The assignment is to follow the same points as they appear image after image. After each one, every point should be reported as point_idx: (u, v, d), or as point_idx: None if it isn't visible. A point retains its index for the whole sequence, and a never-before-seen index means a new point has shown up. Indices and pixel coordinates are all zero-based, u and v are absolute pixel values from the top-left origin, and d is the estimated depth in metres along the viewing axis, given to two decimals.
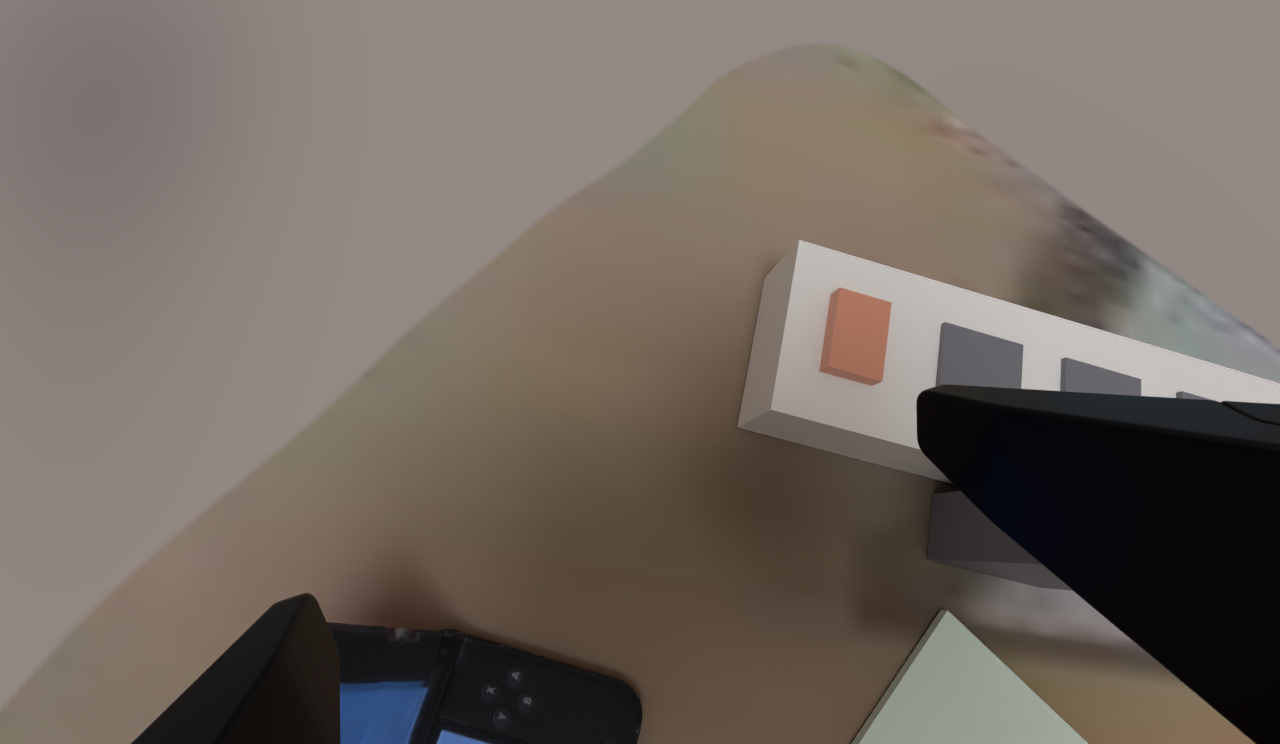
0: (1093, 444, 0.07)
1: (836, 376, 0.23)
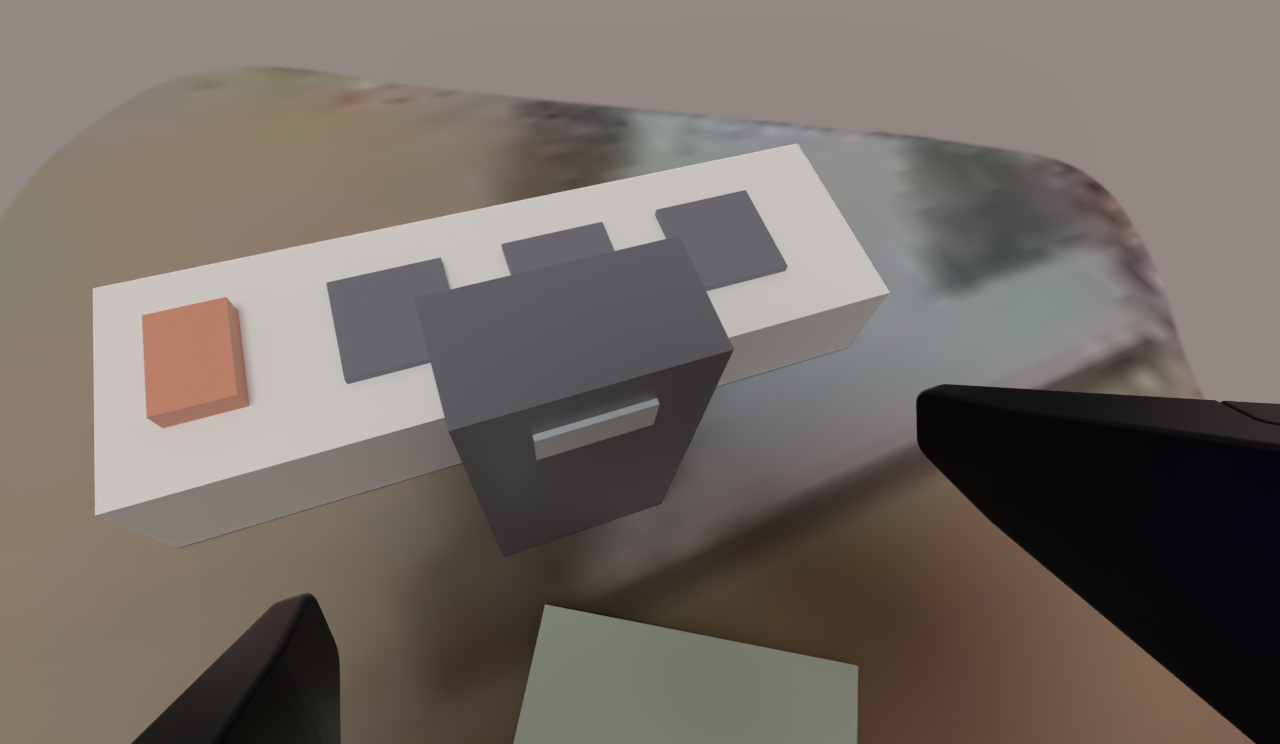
0: (1093, 444, 0.07)
1: (191, 421, 0.16)
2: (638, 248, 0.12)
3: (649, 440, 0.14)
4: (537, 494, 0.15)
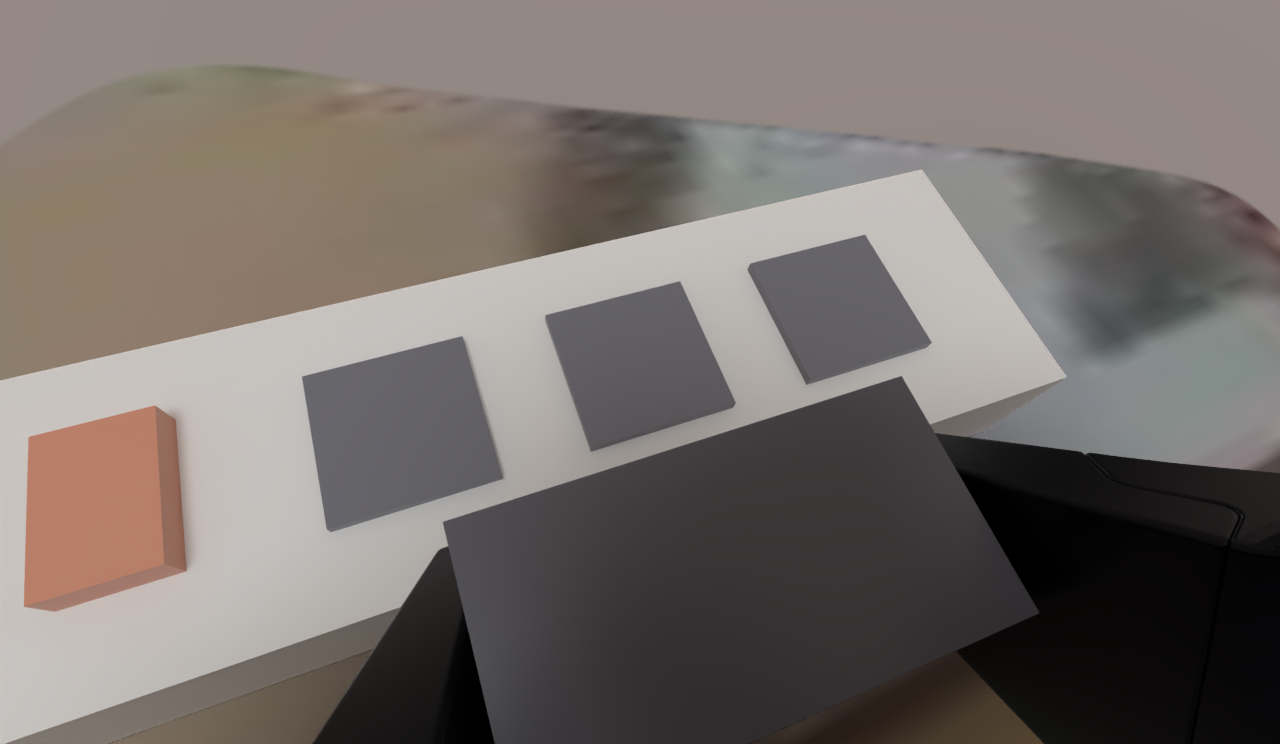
0: None
1: (99, 598, 0.11)
2: (836, 403, 0.07)
3: None
4: None
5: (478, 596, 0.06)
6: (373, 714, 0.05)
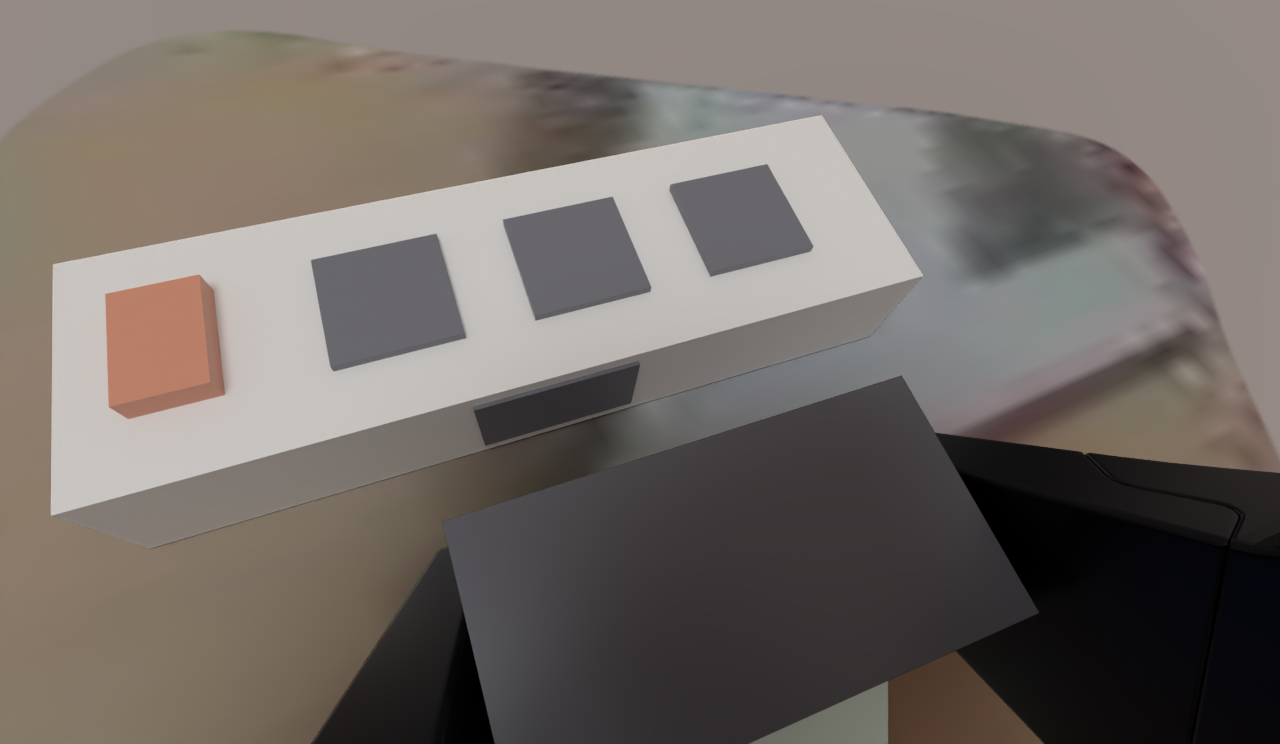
0: None
1: (160, 411, 0.15)
2: (836, 403, 0.07)
3: None
4: None
5: (478, 596, 0.06)
6: (372, 715, 0.05)
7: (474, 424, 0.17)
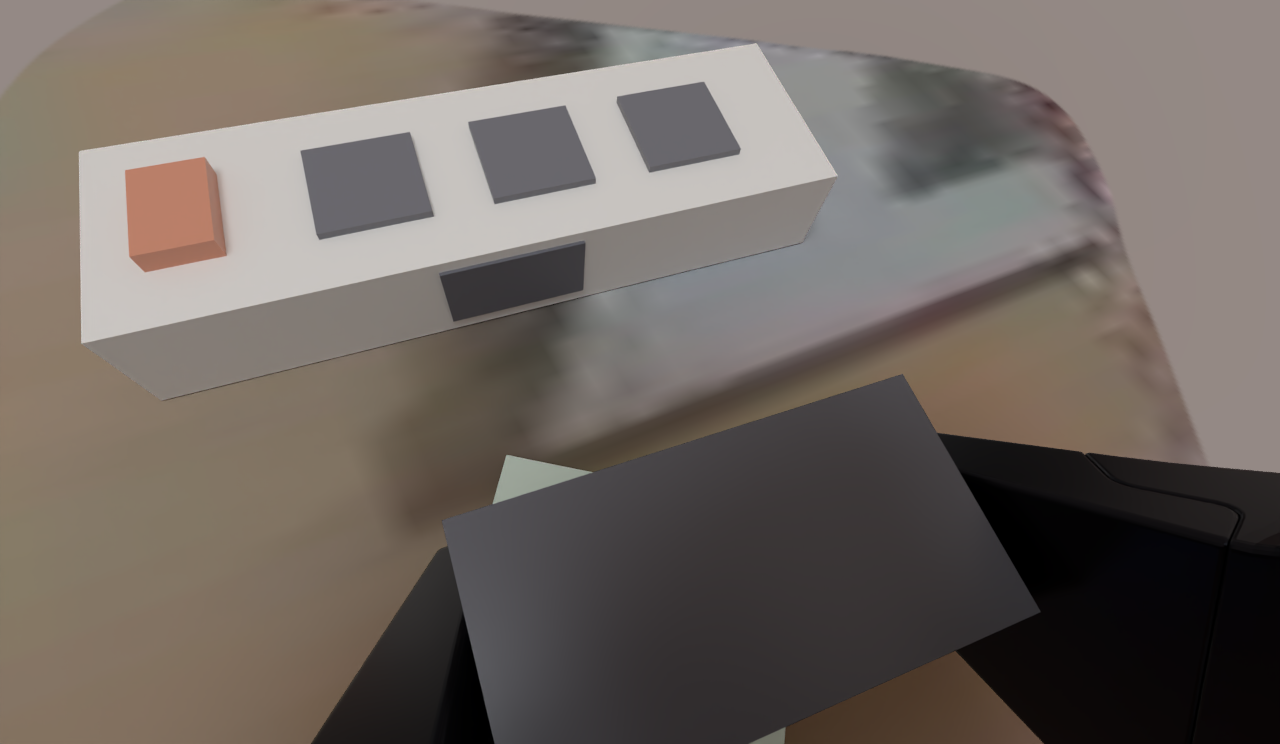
0: None
1: (172, 267, 0.17)
2: (837, 402, 0.07)
3: None
4: None
5: (477, 595, 0.06)
6: (372, 714, 0.05)
7: (442, 295, 0.20)
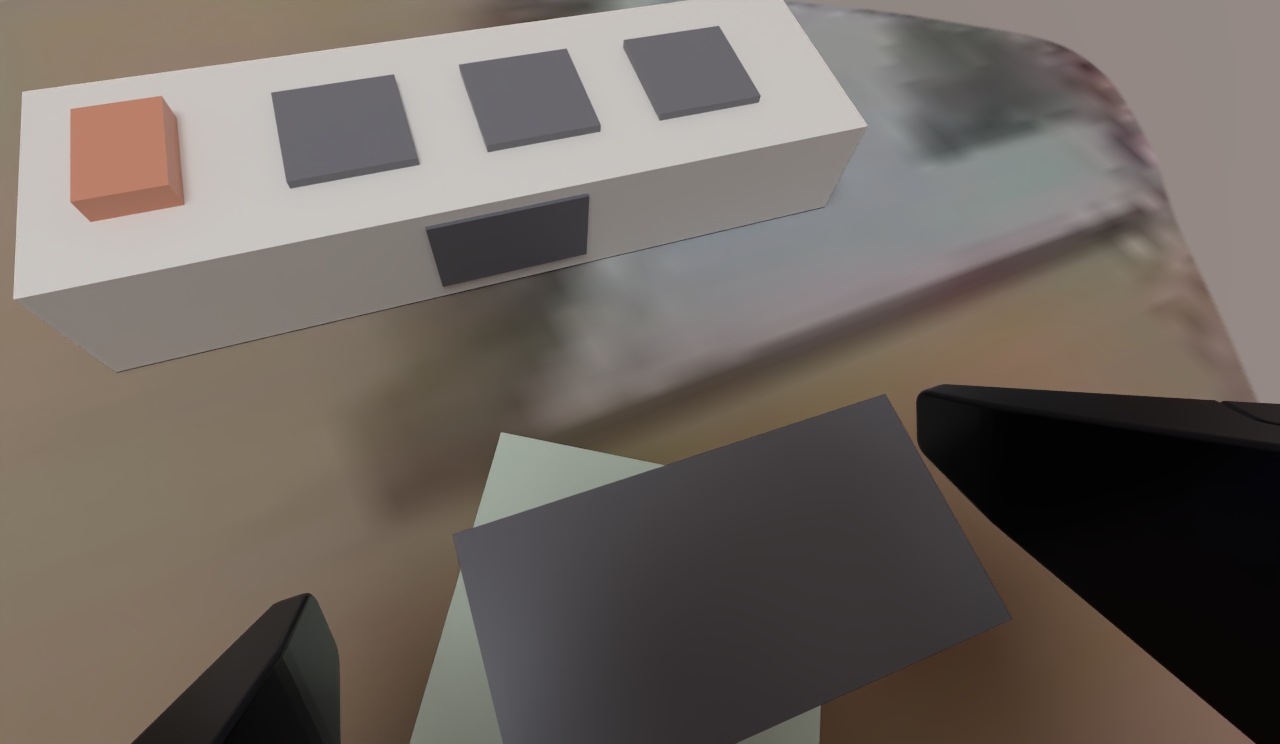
0: (1093, 444, 0.07)
1: (122, 217, 0.15)
2: (823, 420, 0.07)
3: None
4: None
5: (486, 604, 0.06)
6: None
7: (429, 254, 0.18)
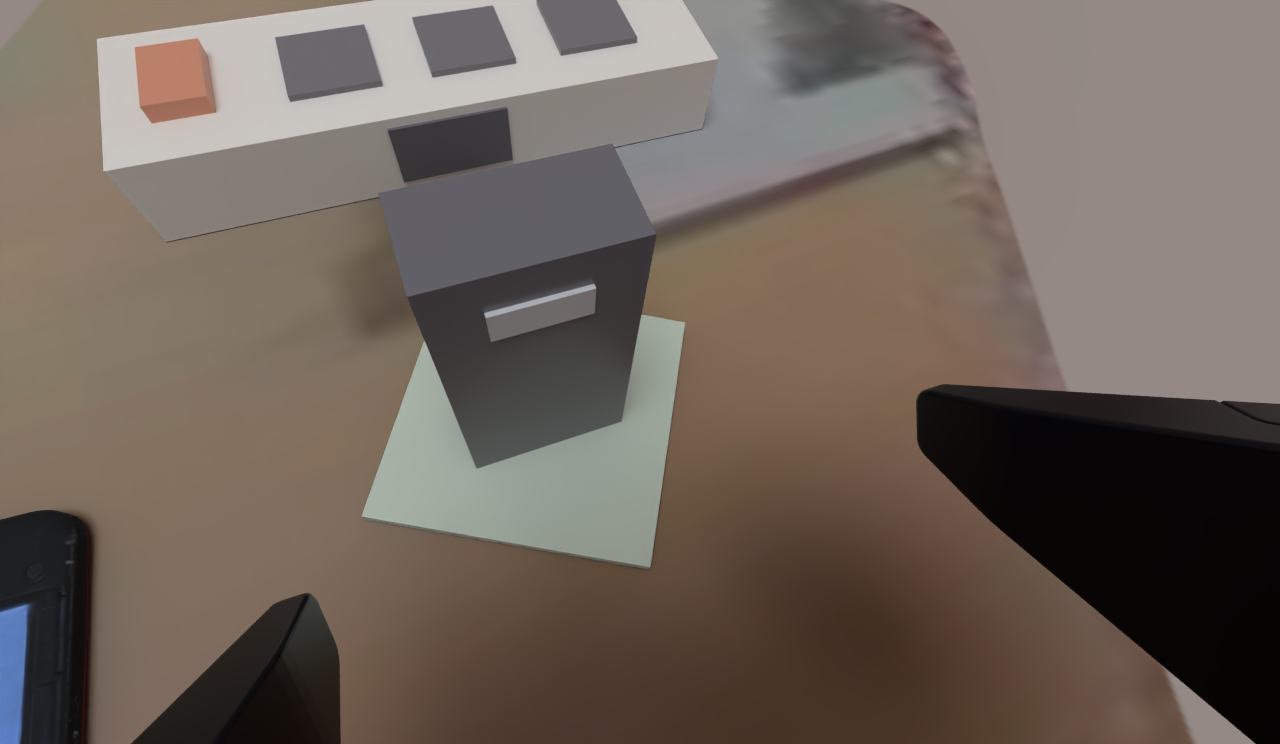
0: (1093, 444, 0.07)
1: (173, 120, 0.22)
2: (575, 153, 0.14)
3: (596, 336, 0.16)
4: (499, 390, 0.17)
5: (393, 218, 0.13)
6: None
7: (392, 153, 0.24)
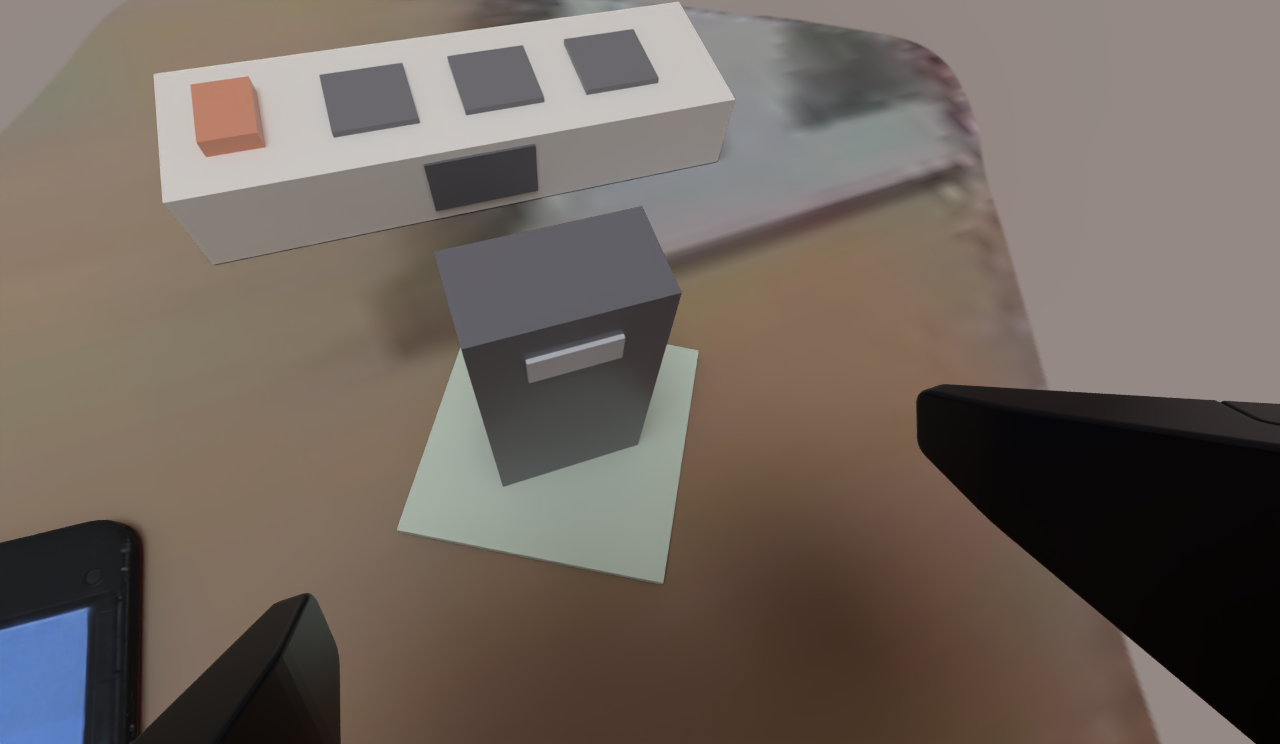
0: (1093, 444, 0.07)
1: (225, 154, 0.24)
2: (609, 215, 0.15)
3: (621, 375, 0.17)
4: (530, 421, 0.18)
5: (447, 276, 0.14)
6: None
7: (426, 185, 0.26)
